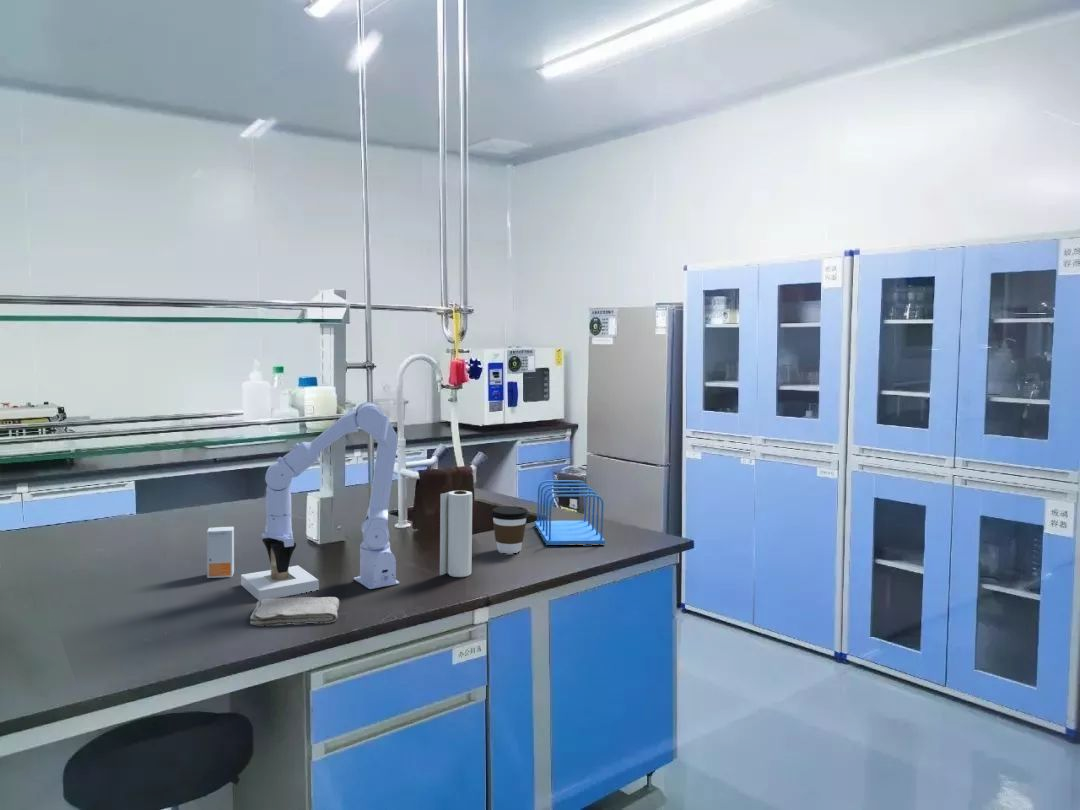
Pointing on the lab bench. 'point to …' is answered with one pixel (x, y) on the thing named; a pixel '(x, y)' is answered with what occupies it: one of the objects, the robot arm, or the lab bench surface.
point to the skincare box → (220, 552)
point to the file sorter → (569, 529)
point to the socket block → (279, 583)
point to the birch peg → (274, 572)
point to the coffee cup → (509, 527)
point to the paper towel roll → (456, 533)
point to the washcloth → (295, 610)
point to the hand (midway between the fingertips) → (279, 569)
